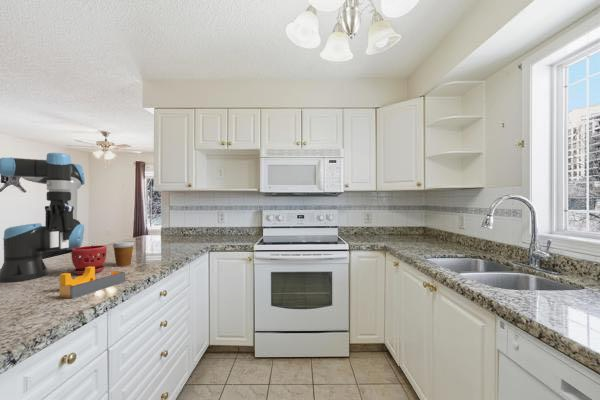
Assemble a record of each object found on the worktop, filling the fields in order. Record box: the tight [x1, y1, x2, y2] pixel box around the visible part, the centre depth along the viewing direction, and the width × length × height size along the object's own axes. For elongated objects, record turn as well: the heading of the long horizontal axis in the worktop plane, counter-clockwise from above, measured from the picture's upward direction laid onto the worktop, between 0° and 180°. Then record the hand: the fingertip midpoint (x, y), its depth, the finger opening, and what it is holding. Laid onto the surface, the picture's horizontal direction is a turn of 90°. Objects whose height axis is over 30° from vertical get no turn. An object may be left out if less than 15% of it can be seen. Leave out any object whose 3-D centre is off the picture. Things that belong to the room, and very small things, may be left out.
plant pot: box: [71, 244, 107, 275], centre depth 128 cm, size 13×13×12 cm
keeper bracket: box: [59, 270, 126, 299], centre depth 105 cm, size 7×20×4 cm, turn 162°
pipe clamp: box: [59, 267, 96, 286], centre depth 108 cm, size 12×4×6 cm, turn 170°
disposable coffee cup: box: [112, 240, 135, 268], centre depth 141 cm, size 10×10×12 cm
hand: (59, 247), depth 111 cm, fingers open, 5 cm apart
